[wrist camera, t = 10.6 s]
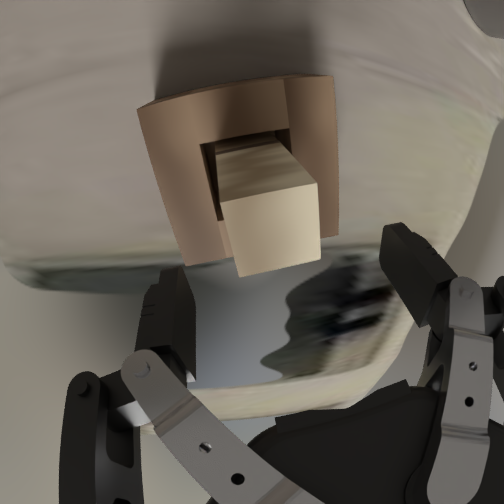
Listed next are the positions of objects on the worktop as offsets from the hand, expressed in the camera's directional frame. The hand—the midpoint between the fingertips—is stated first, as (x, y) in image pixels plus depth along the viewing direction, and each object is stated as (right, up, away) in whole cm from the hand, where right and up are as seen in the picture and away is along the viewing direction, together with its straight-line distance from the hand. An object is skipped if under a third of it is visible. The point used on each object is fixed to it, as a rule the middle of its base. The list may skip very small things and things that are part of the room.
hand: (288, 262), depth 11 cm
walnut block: (-2, +9, +12) cm, 15 cm away
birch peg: (-2, +8, +11) cm, 14 cm away
